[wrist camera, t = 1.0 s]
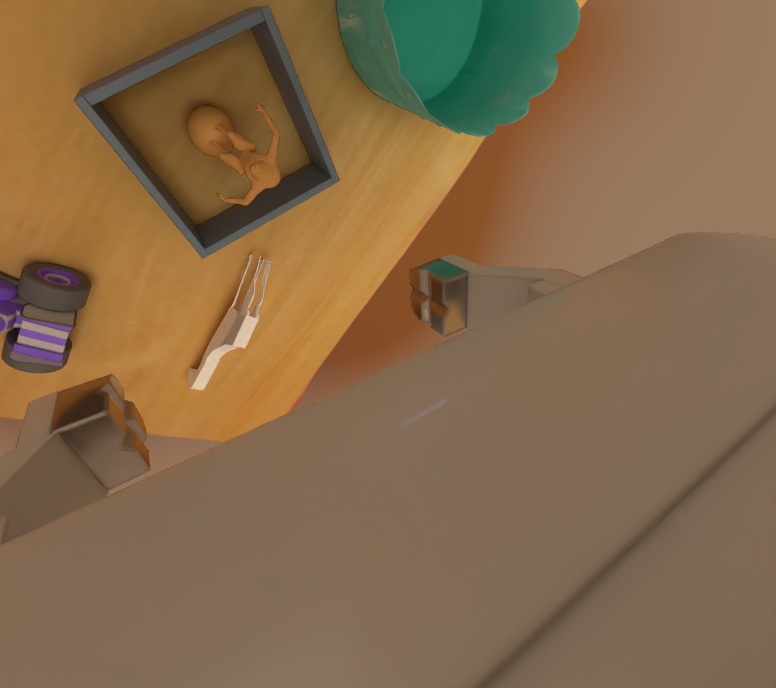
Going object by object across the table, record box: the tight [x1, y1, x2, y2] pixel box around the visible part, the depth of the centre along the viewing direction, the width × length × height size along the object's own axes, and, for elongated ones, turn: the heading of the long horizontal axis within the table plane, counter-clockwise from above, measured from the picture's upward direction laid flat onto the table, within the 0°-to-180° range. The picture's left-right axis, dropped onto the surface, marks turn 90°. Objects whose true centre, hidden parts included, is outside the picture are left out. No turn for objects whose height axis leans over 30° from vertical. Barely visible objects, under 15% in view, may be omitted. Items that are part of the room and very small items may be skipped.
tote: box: [74, 6, 340, 258], centre depth 34 cm, size 15×14×6 cm
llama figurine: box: [188, 254, 273, 390], centre depth 45 cm, size 2×11×18 cm
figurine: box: [187, 103, 281, 205], centre depth 32 cm, size 8×6×12 cm
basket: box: [336, 0, 580, 137], centre depth 33 cm, size 19×18×13 cm
